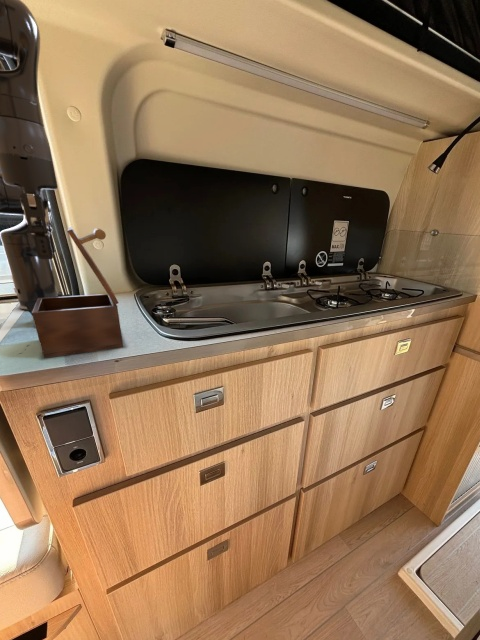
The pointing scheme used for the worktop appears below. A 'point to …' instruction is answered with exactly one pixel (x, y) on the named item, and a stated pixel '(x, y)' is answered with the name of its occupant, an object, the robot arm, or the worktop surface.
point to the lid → (79, 243)
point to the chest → (77, 324)
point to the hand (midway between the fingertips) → (47, 255)
